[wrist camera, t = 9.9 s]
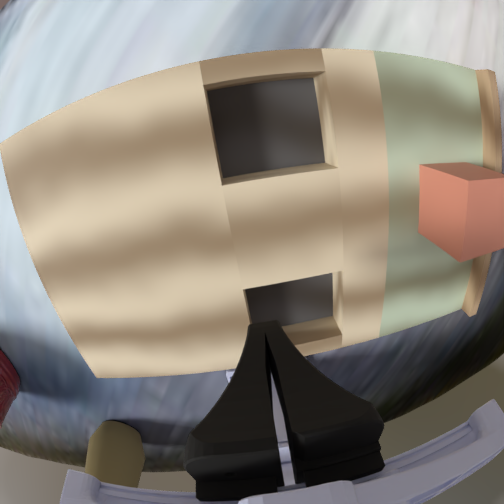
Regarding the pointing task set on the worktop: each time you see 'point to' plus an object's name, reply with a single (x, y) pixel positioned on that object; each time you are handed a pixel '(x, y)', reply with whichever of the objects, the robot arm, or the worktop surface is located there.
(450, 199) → the block
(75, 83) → the worktop surface
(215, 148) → the board
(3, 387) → the canister
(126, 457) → the squeeze bottle
